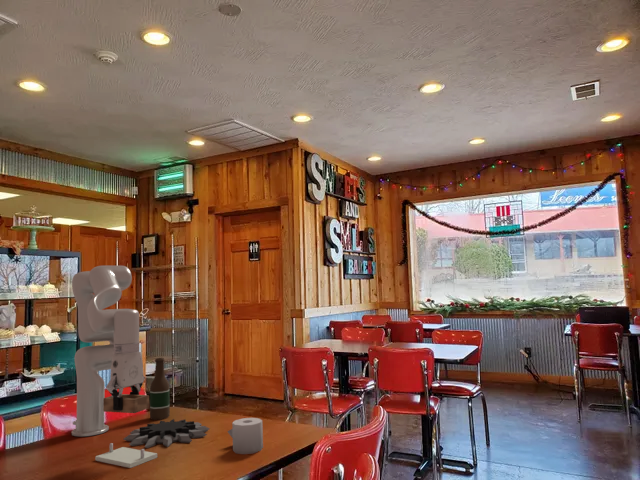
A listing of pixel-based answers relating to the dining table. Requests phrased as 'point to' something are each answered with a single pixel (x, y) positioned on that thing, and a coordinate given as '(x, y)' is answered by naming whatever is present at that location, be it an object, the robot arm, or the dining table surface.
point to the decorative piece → (166, 433)
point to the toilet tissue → (247, 435)
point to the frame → (128, 403)
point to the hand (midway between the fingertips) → (126, 407)
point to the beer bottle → (159, 393)
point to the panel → (126, 456)
